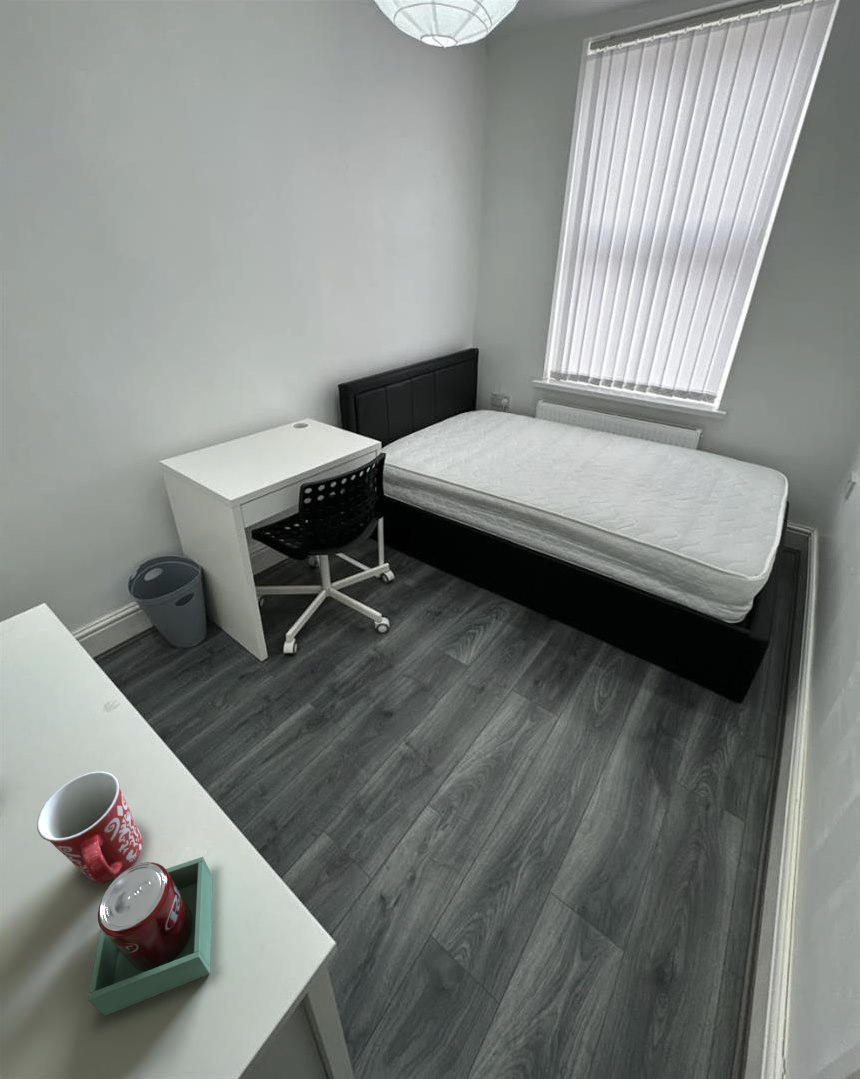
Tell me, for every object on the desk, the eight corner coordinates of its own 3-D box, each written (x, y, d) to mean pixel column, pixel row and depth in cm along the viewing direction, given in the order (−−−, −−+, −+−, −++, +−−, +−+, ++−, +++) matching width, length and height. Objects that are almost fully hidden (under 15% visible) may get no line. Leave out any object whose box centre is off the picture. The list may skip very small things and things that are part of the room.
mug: (74, 846, 70) (35, 795, 62) (143, 810, 74) (114, 758, 67) (82, 933, 61) (38, 886, 54) (159, 886, 66) (128, 836, 58)
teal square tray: (122, 906, 64) (108, 887, 61) (212, 875, 67) (203, 856, 64) (105, 1015, 55) (87, 1000, 52) (210, 973, 58) (198, 956, 55)
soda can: (137, 990, 56) (102, 952, 50) (124, 931, 61) (90, 889, 54) (201, 941, 60) (176, 900, 54) (184, 890, 65) (159, 846, 58)
